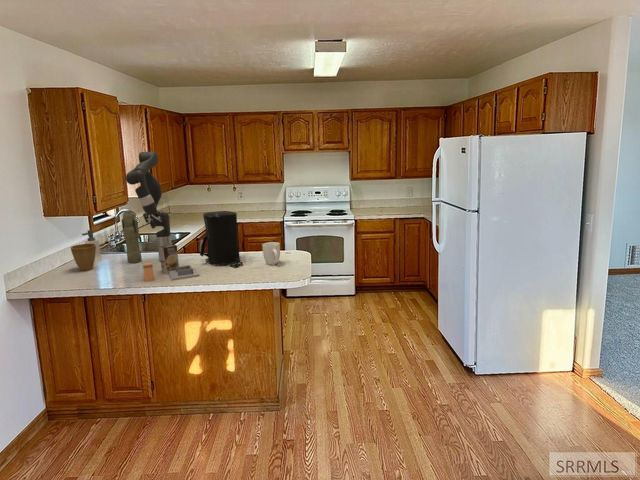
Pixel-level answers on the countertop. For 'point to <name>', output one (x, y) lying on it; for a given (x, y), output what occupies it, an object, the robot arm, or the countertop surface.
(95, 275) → the countertop surface
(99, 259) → the soap dispenser
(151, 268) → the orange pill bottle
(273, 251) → the mug
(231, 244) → the coffee maker
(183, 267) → the end holder
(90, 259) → the plant pot
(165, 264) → the coffee box
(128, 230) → the thermos
